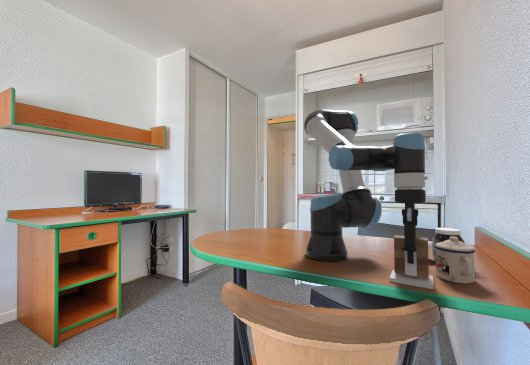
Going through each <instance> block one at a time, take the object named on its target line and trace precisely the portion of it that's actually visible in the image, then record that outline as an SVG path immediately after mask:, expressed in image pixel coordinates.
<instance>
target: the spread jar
mask: <svg viewBox="0 0 530 365" xmlns="http://www.w3.org/2000/svg"><path fill="white" fill-rule="evenodd" d="M434 228H435V233H434V235H433V236H432V239H431V241H429V240H428V253H429V252H430V250H431V252H432V258H433V260H434V262H435V263H436V248H435V244H436V243H440V242H443V241H446V240H450V239H449V238H450V237H457V238H458V241H461V242H463V243H465V244H466V242H465V240H464V239H463V237H462V236H461V229H458V228H454V227H453V228H452V227H434Z"/></svg>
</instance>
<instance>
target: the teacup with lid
mask: <svg viewBox="0 0 530 365" xmlns="http://www.w3.org/2000/svg"><path fill="white" fill-rule="evenodd" d="M449 239H450V240H446V241H443V242H440V243H436V244H435V248H436V262H435V274H436V276H437V277H438V278H439V279H441V280H444V281H446V282H452V283H455V284H457V283H458V284H465V285H466V284H473V283H474V282H475V281H476V280H475V278H476V277H475V275H476V274H475V271H476V270H475V252H476V250H475V248H474V247H473V246H471V245H468V244H466V242H465V243H463V242H461V241H458V238H457V237H450V238H449Z"/></svg>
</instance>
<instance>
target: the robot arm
mask: <svg viewBox="0 0 530 365" xmlns="http://www.w3.org/2000/svg"><path fill="white" fill-rule="evenodd" d="M303 129H304V131H305V134H306V135H307V136H309V137H310V138H311V139H314V140H315V141H316V142H317V143H318V144H319V145H320V146H321V148H323V149H324V150H325V151H326V152H327V154H328V163H329V166H330V168H331V169H332V170H336V171H338V173H339V178H340V183H341V187H342V193H329V194H322V195H317V196H314V197H312V198H311V200H310V207H309V210H310V236H309V239H308V243H307V245H306V249H305V250H306V251H305V252H306V253H305V255H306V257H307V256H308V257H307V258H308V259H309V258H310V259H312V260H315V261H321V262H341V261H345V260H347V259H348V249H347V247H346V242H345V241H344V238H343V228H344V229H345V228H346V229H347V228H363V229H364V228H369V227H374V226H376V225H377V224H378V223H379V222H380V220H381V217H382V212H383V211H382V210H383V208H382V203H381V200H380V199H378V197H376V196H373V195H372V193H371V192H372V191H371V190H370V189H369V188H367V187H366V185H365V182H364V178H363V174H362V171H373V172H385V171H391V170H393V171H394V172H393V173H394V175H393V181H394V184H393V185H394V188H395V190H394V202H395V203H398V204H399V203H400V204H401V203H402V204H404V208H402V209H401V216H402V225H403V227H404V228H403V231H404V233H403V234H404V235H403V236H404V240H405V246H404V248H402V250H403V251H405V274H406V275H412V276H417V260H416V244H415V237H417V232H416V231H417V226H418V217H419V209H418V208H417V209H416V204H425V203H426V201H427V196H426V195H427V194H426V192H427V191H426V190H425V189H423V188H425V187H426V181H427V180H428V179H429V177H428V176H427V175H426V156H425V155H426V144H425V138H424V135H423V134H422V133H420V132H406V133H400V134H397V135H395V136H394V137H393V143H392V144H391V145H389V146H363V145H362V146H360V145H359V146H358V145H355V143H354V138H355V136H356V135H357V132H358V130H359V119H358V117H357V115H356V114H355V113H354V112H353V111H351V110H350V111H349V110H344V109H342V110H336V109H335V110H333V109H317V110H314V111H311V112H310V113H309V114H308V115H307V116H306V117H305V120H304V123H303Z"/></svg>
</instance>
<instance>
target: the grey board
mask: <svg viewBox="0 0 530 365" xmlns="http://www.w3.org/2000/svg"><path fill="white" fill-rule="evenodd" d="M389 282H390V283H396V284H402V285H407V286H412V287H413V286H414V287H418V288H424V289H429V290H435V285H434V283H435V282H434V277H433V275H430V274H429V278H423V277H416V276H410V275H404V274H398V273H395V269H391V274H390V276H389Z"/></svg>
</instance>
